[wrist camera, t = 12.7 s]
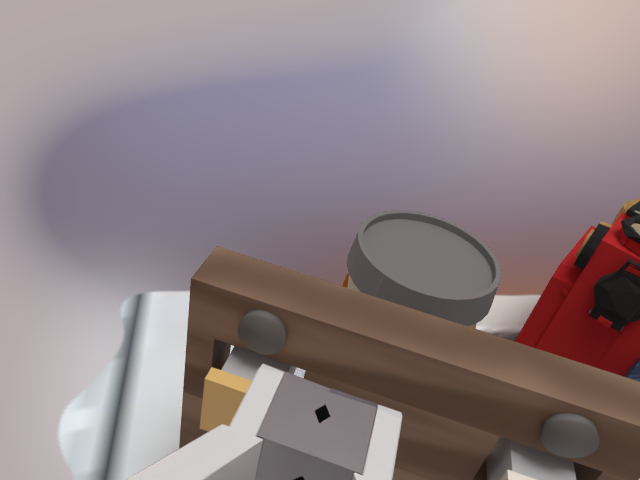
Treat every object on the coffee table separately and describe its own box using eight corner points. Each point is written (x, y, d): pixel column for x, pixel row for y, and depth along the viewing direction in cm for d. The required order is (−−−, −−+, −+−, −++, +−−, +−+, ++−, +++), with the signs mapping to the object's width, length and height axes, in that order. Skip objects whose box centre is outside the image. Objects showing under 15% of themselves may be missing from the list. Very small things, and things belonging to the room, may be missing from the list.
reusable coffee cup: (444, 346, 56) (498, 231, 47) (444, 445, 45) (512, 321, 37) (331, 313, 56) (365, 195, 48) (306, 403, 46) (342, 273, 38)
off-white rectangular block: (556, 556, 26) (596, 515, 23) (476, 528, 26) (508, 484, 24) (541, 434, 32) (571, 391, 29) (476, 412, 32) (502, 369, 30)
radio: (545, 305, 65) (628, 164, 54) (627, 352, 61) (736, 209, 50) (496, 369, 54) (588, 209, 43) (592, 433, 50) (723, 271, 39)
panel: (495, 653, 33) (689, 468, 21) (164, 526, 36) (176, 296, 24) (493, 558, 38) (649, 365, 26) (203, 452, 40) (228, 232, 29)
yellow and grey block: (270, 453, 27) (282, 405, 25) (199, 428, 28) (204, 378, 25) (308, 355, 33) (320, 310, 31) (249, 335, 34) (257, 289, 31)
